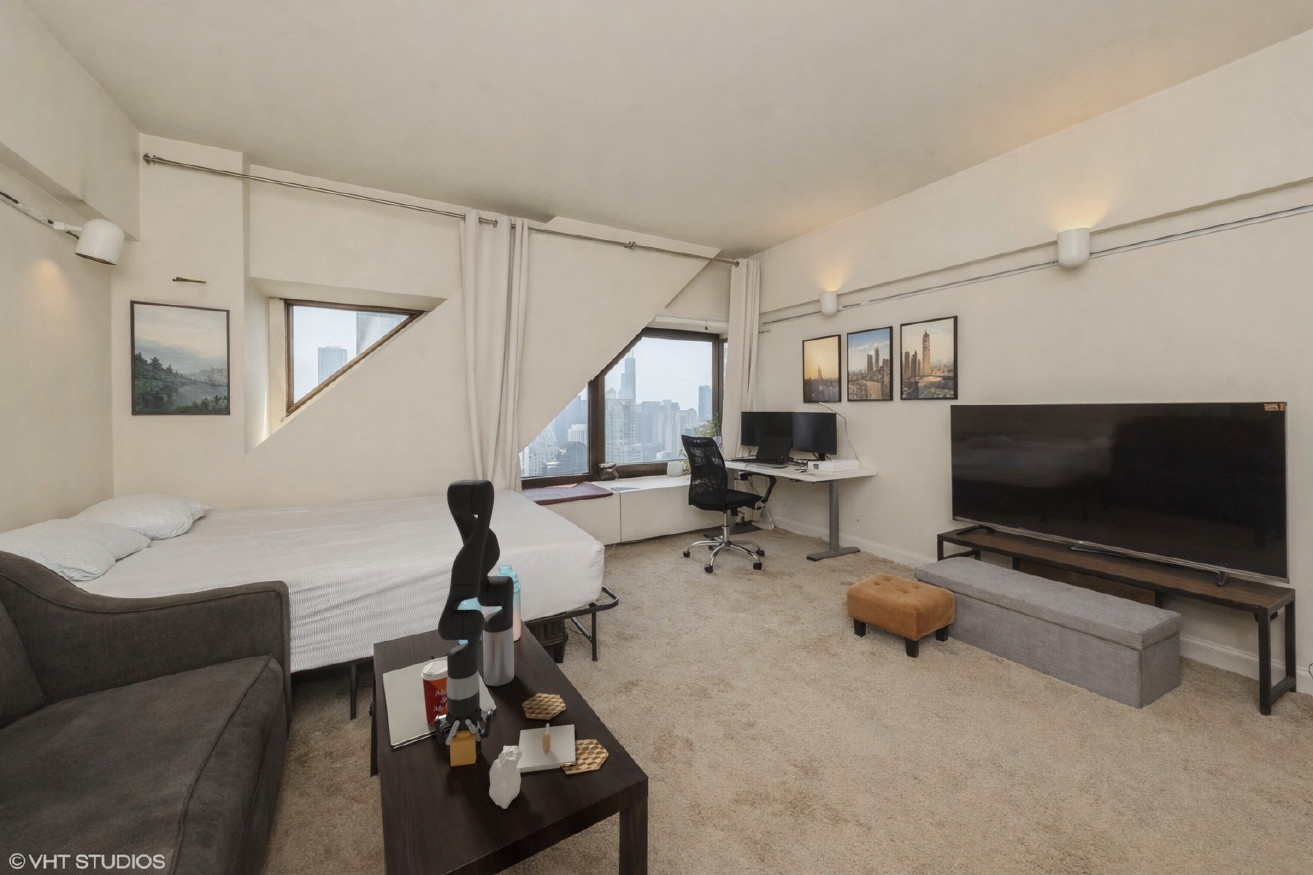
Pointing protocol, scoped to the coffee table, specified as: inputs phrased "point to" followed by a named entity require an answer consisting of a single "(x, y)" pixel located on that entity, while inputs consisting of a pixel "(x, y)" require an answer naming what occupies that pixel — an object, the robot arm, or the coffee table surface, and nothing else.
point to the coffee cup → (435, 689)
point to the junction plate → (554, 752)
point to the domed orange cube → (463, 748)
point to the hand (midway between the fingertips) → (464, 753)
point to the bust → (505, 776)
